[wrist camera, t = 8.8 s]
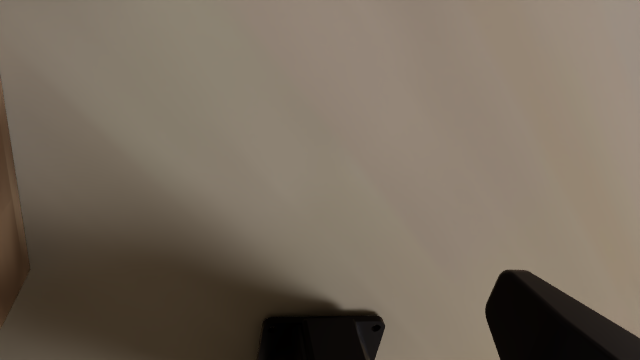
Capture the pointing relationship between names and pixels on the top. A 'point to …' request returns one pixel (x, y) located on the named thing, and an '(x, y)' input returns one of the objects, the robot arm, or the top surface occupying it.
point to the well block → (10, 224)
